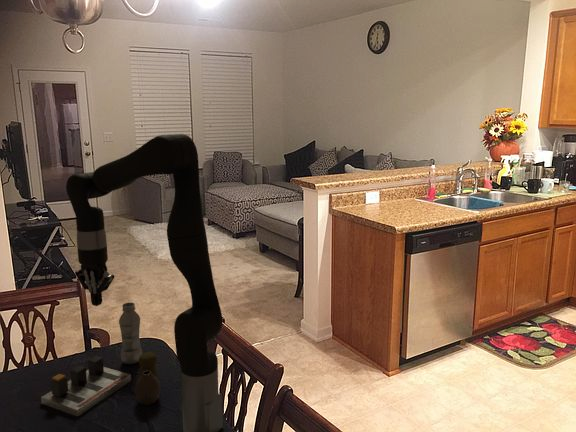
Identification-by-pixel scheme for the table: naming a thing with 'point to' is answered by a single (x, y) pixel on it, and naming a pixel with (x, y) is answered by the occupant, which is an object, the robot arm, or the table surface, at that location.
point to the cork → (148, 363)
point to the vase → (147, 388)
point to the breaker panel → (87, 387)
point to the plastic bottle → (130, 334)
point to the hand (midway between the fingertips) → (96, 304)
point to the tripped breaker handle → (59, 385)
